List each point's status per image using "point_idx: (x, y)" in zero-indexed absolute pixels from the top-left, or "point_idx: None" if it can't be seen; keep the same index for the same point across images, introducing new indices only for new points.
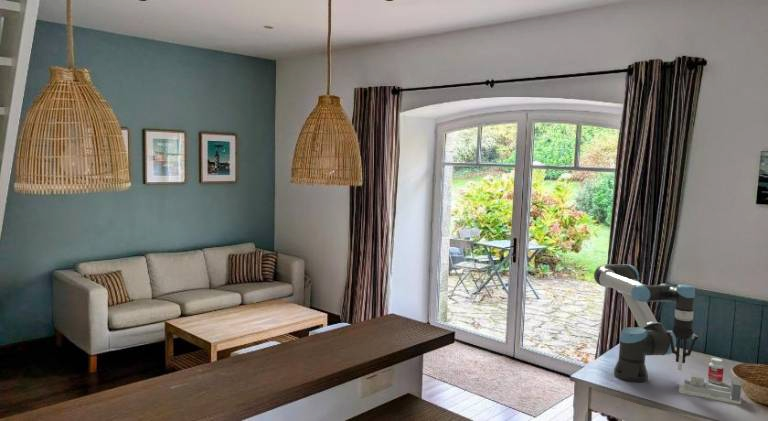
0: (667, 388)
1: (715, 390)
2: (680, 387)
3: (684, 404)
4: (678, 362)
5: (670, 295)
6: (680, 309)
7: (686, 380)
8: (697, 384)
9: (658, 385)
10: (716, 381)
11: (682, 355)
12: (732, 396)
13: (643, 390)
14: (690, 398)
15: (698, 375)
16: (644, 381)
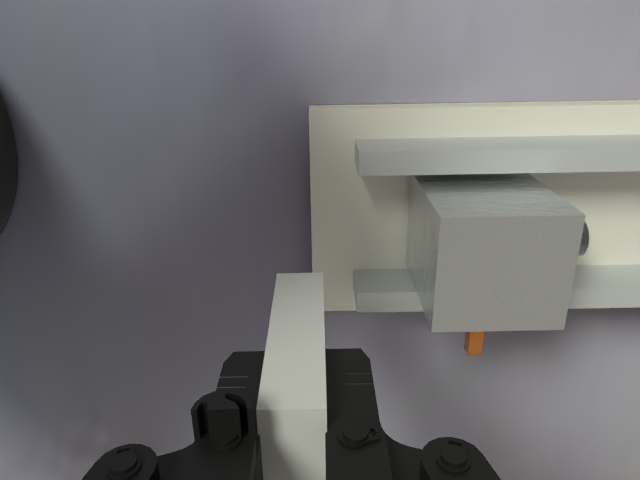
0: (219, 259)
1: (625, 305)
2: (323, 245)
3: None
4: (270, 321)
5: None
6: None
7: (378, 172)
8: (475, 354)
9: (139, 229)
10: None
11: (323, 436)
12: None
13: (67, 405)
14: (398, 372)
15: (519, 248)
16: (8, 214)
